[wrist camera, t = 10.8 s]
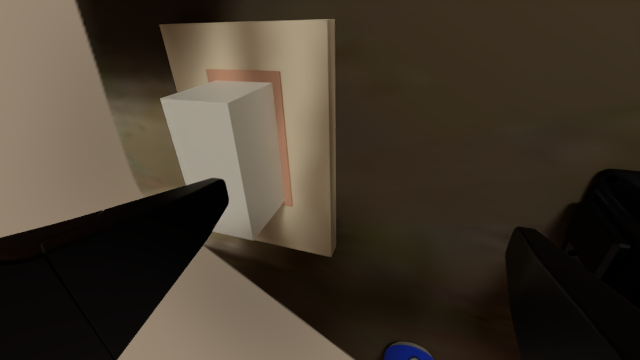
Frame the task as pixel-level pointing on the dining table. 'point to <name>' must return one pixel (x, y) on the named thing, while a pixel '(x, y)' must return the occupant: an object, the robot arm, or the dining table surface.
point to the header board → (277, 109)
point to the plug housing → (230, 148)
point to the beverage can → (406, 352)
